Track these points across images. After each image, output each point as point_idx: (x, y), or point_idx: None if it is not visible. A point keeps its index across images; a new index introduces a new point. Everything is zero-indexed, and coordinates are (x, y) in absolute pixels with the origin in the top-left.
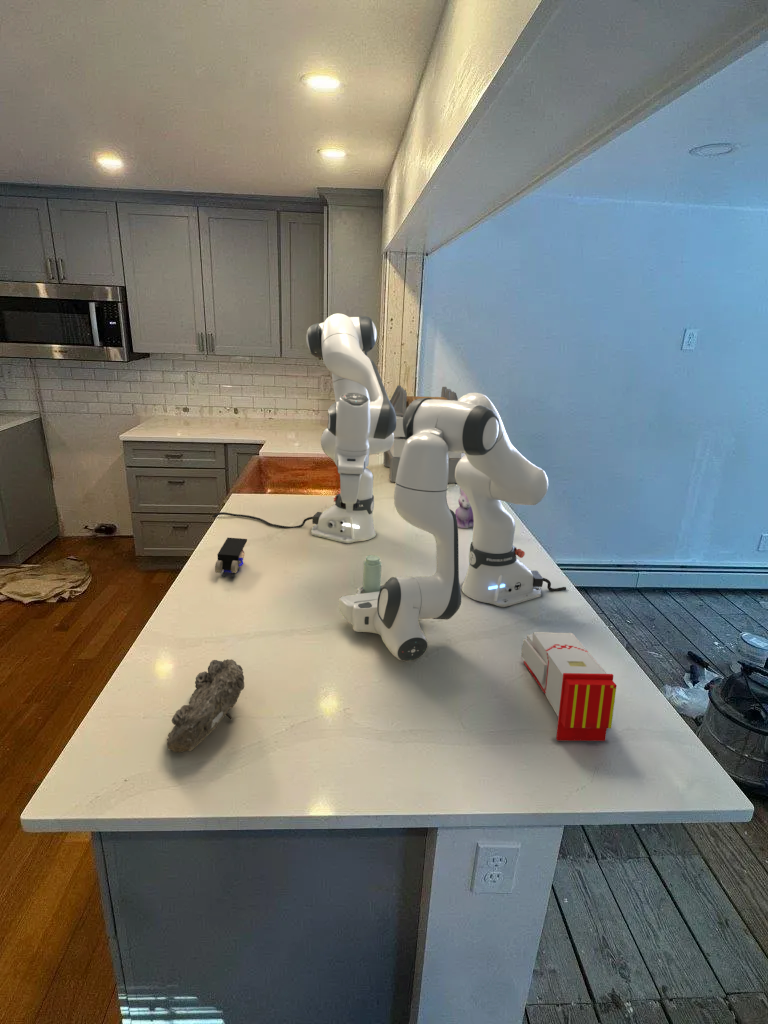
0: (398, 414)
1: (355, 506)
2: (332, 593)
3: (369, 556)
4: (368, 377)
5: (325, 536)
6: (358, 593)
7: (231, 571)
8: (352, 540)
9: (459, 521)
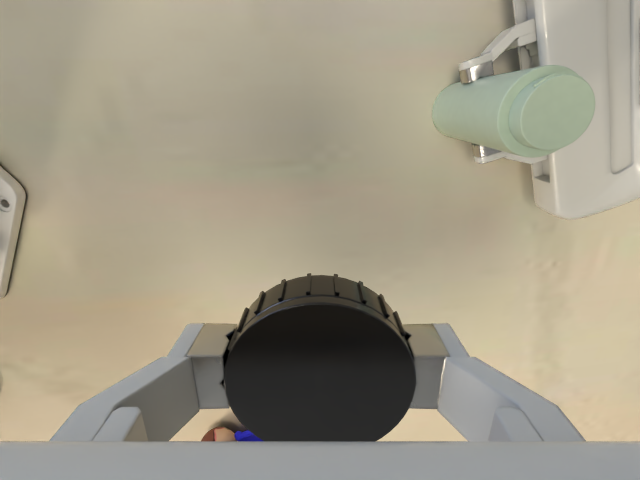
0: None
1: (395, 318)
2: (367, 221)
3: (538, 131)
4: None
5: (7, 262)
6: (529, 158)
7: None
8: (4, 178)
9: None
